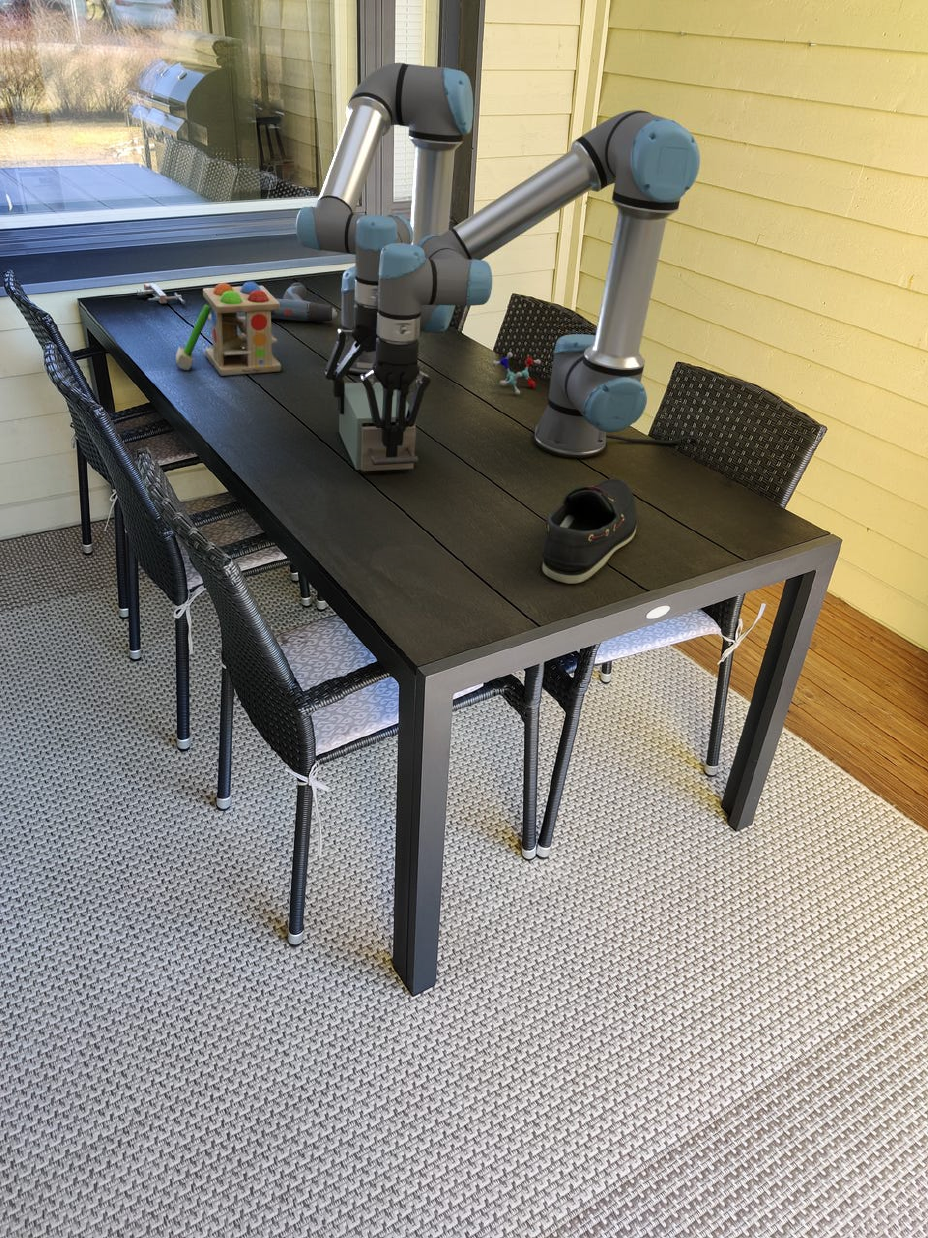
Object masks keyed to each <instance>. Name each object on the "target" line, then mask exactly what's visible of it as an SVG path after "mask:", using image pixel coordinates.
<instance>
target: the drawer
mask: <svg viewBox="0 0 928 1238" xmlns="http://www.w3.org/2000/svg"><path fill="white" fill-rule="evenodd" d="M391 426H396V424H395V422H391ZM405 429H406V430H405V431H404V435H403V444H402V445H401V446H398V450H397V457H386V446H384V445H383V443H382V429H381V428H376V427H375V425H374V423H362V443H361V470H360V471H361V472H376V471H377V472H379V471H394V470H395V471H396V470H397V471H398V470H413V469H414V468H415V466H414V465H415V464H418V462H419V457H418V455H415V452H416V451H415V450H416V436H417V435H416V433H417V426H416V424H415V425H414V426H413V427H407V428H405Z"/></svg>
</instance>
